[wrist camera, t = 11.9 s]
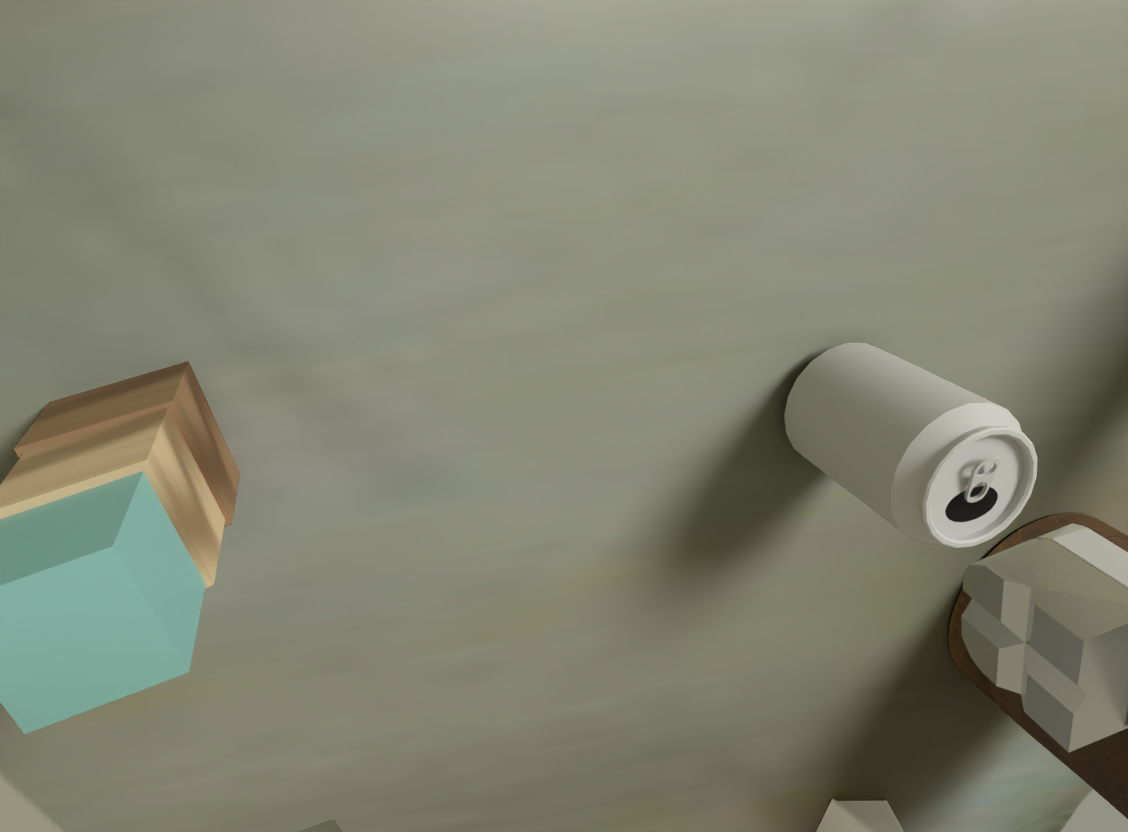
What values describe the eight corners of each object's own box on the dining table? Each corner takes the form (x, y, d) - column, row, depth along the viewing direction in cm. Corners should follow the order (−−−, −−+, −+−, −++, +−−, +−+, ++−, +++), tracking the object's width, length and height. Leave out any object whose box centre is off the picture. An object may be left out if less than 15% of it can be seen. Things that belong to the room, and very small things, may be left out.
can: (773, 467, 48) (906, 578, 38) (778, 348, 45) (924, 432, 35) (882, 444, 50) (1038, 544, 39) (894, 328, 47) (1067, 402, 36)
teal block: (-10, 522, 27) (-70, 610, 23) (142, 470, 28) (113, 546, 23) (67, 634, 29) (24, 734, 25) (205, 583, 30) (188, 671, 26)
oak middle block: (23, 453, 31) (-23, 515, 27) (168, 406, 32) (146, 459, 28) (92, 565, 34) (60, 639, 29) (225, 519, 35) (213, 585, 30)
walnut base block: (49, 402, 35) (13, 448, 31) (188, 361, 36) (172, 400, 32) (112, 514, 38) (86, 572, 34) (240, 473, 39) (231, 524, 35)
